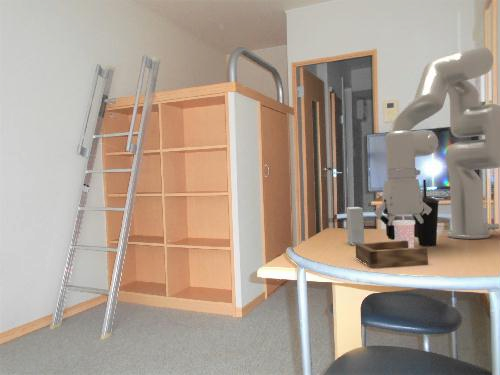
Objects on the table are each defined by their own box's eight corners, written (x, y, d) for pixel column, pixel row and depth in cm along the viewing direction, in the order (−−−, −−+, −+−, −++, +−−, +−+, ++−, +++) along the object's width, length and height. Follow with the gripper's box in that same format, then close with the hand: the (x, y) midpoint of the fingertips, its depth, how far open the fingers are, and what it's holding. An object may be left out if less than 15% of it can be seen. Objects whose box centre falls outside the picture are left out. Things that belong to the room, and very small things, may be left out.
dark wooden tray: (406, 255, 108) (405, 240, 108) (428, 264, 96) (427, 247, 96) (356, 258, 107) (355, 243, 107) (371, 268, 95) (370, 251, 95)
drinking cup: (412, 246, 119) (409, 180, 118) (415, 242, 126) (412, 180, 125) (440, 247, 115) (437, 179, 115) (441, 243, 122) (438, 178, 122)
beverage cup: (395, 250, 115) (393, 202, 115) (418, 251, 112) (415, 202, 112) (391, 254, 110) (389, 204, 110) (415, 255, 107) (412, 203, 106)
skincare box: (365, 245, 126) (363, 207, 126) (351, 245, 127) (349, 208, 126) (360, 242, 133) (358, 206, 132) (347, 242, 133) (345, 207, 132)
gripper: (425, 173, 115) (427, 234, 115) (366, 177, 114) (369, 238, 114) (438, 173, 107) (441, 238, 107) (375, 176, 106) (379, 242, 107)
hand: (404, 237), depth 111 cm, fingers open, 6 cm apart
